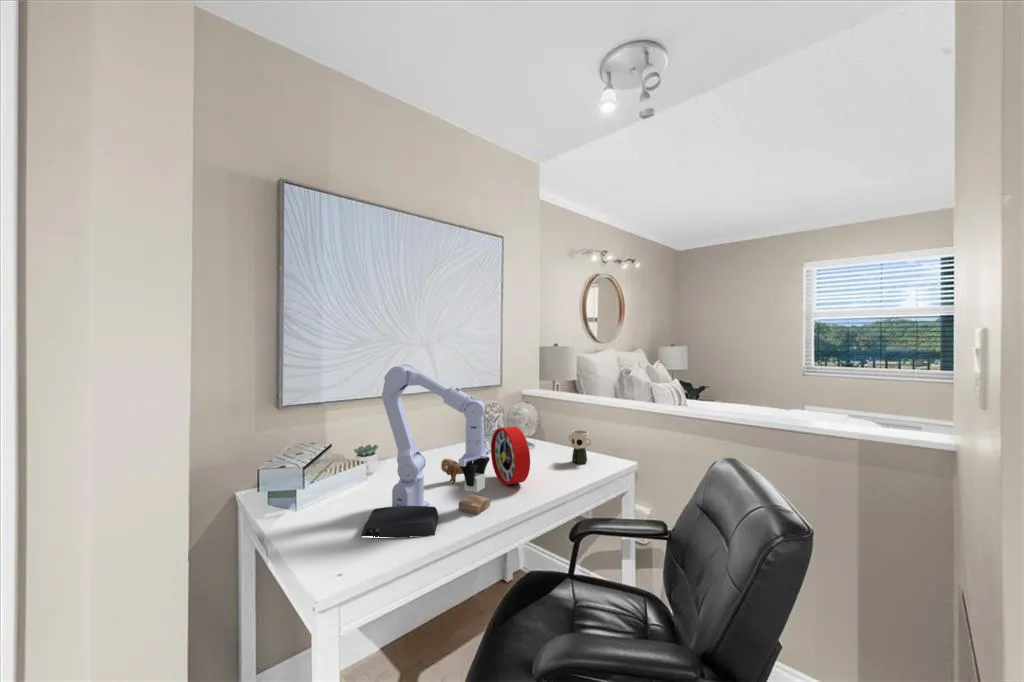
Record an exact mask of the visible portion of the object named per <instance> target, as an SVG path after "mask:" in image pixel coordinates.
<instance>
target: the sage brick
mask: <svg viewBox="0 0 1024 682" xmlns="http://www.w3.org/2000/svg"><path fill="white" fill-rule="evenodd" d="M484 488H486V474H485V473H484V474H480V473H475V480H474V486H473V487H471V486H467V484H466V480H465V479H464V490H466V491H470V492H474V493H478V492H480V491H481V490H483V489H484Z"/></svg>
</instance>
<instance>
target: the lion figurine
mask: <svg viewBox="0 0 1024 682" xmlns="http://www.w3.org/2000/svg"><path fill="white" fill-rule="evenodd" d="M440 469H441V470H442V472H443V473H446V474H447V476H450V479H449V482H451V484H452V483H453V484H454V483H455V484H456V481H457V480H456V477H457V475H464V473H463V471H462V469H461V468H460V466H459V462H457V461H456V460H452V459H451V458H448V457H447V458H443V459H442V461H441V467H440ZM453 484H452V485H453Z"/></svg>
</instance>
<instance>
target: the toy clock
mask: <svg viewBox="0 0 1024 682" xmlns="http://www.w3.org/2000/svg"><path fill="white" fill-rule="evenodd" d="M490 454H491V455H490V457H491V458H490V459H491V463H492V468H493V470H494V473H495V475H496V477H497V479H498V481H499V482H500V483H501V484H502V485H504V486H510V485H515V484H520V483H524V482H525V481H526V480H527V479H528V476H529V473H530V469H531V453H530V447H529V443H528V440H527V438H526V436H525V434H524V432H523V431H522V429H521V428H520V427H519V426H514V425H513V426H506V427H505V426H504V427H498V428H496V430H495V431H494V432H493V435H492V437H491V444H490Z"/></svg>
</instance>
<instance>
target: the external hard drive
mask: <svg viewBox="0 0 1024 682" xmlns="http://www.w3.org/2000/svg"><path fill="white" fill-rule="evenodd" d="M438 516H439V512H438V510H437V507H436V506H431V505H430V506H429V505H427V506H384V507H377V508H374V509H372V511H371V513H370V515H369V517H368V518H367V521H366V522H365V524H364V526H363V527H362V530H361V531H362V532H361V535H360V537H361V536H373V537H374V536H375V537H378V536H379V537H408V538H411V537H410V536H423V537H430V536H429V535H433V536H435V535H436V533H435V532H437V528H436V527H437V526H438V522H439V517H440V516H439V517H438Z"/></svg>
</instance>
